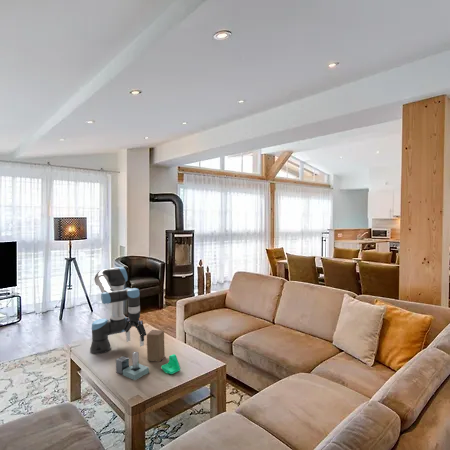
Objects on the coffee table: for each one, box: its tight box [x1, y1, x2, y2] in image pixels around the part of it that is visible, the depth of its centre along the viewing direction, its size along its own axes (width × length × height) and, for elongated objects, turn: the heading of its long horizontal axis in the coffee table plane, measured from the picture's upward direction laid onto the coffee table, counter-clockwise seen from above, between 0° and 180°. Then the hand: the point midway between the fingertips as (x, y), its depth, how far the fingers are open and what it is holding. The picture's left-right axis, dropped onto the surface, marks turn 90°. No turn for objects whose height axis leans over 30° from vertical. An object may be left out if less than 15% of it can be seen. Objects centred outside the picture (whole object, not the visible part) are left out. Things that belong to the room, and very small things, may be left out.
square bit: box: [115, 355, 130, 376], centre depth 220 cm, size 6×6×9 cm
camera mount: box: [160, 353, 181, 375], centre depth 221 cm, size 12×8×10 cm, turn 45°
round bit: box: [131, 351, 140, 371], centre depth 217 cm, size 4×4×14 cm
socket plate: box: [122, 363, 150, 381], centre depth 217 cm, size 12×12×4 cm
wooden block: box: [146, 329, 166, 363], centre depth 239 cm, size 10×10×20 cm
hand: (135, 343), depth 217 cm, fingers open, 13 cm apart
